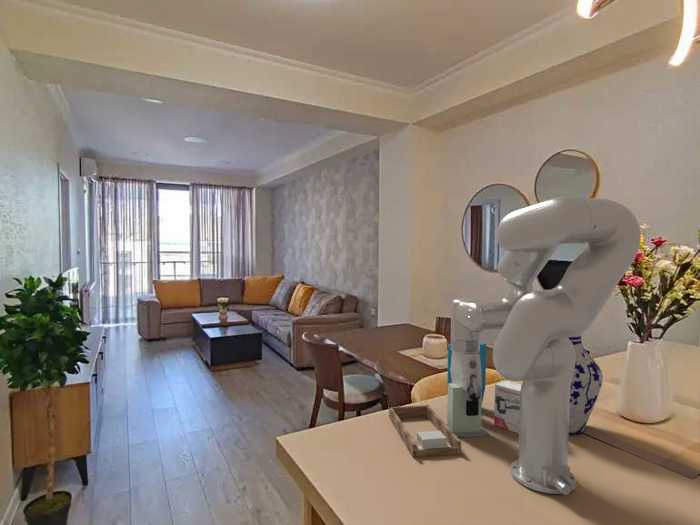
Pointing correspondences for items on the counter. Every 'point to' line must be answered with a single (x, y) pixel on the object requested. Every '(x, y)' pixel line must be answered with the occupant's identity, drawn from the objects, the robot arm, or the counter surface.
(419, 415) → the tray
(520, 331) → the robot arm
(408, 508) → the counter surface
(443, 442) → the offcut top
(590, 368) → the vase
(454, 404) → the sage green box
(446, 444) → the offcut low
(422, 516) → the counter surface
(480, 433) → the felt mat
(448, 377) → the block
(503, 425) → the ink box
